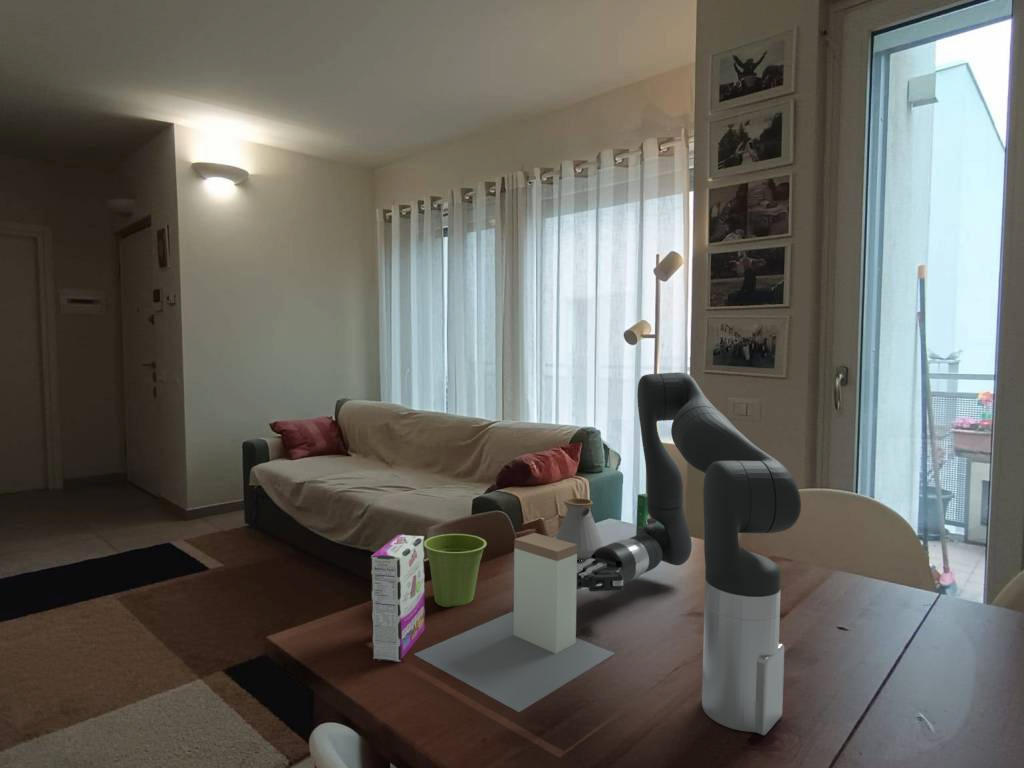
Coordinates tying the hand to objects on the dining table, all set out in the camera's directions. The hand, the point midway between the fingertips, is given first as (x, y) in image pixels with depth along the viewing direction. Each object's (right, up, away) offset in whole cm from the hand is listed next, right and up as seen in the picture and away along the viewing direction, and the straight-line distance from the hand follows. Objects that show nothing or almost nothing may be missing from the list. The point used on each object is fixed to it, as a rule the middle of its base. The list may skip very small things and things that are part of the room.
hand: (562, 586), depth 103 cm
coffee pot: (+7, -7, +36) cm, 37 cm away
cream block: (-3, -8, -3) cm, 9 cm away
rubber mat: (-8, -8, -8) cm, 14 cm away
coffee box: (+26, -6, +48) cm, 55 cm away
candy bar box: (-26, -8, -4) cm, 28 cm away
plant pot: (-19, -7, +14) cm, 25 cm away
